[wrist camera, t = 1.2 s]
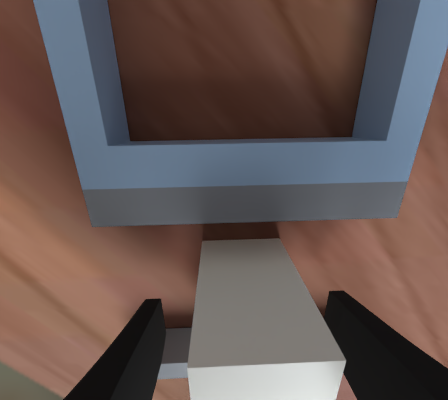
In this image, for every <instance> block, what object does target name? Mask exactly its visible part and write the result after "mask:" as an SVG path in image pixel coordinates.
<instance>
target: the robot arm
mask: <svg viewBox="0 0 448 400" xmlns="http://www.w3.org/2000/svg"><path fill="white" fill-rule="evenodd" d="M324 321H325V322H326V324H327V326H328V328H329V330H330V331H331V333H332V335H333V337H334V339H335V341H336V342H337V344H338V346H339V348H340V350H341V352H342V353H343V355H344V357H345V359H346V364H345V368H344V371H343V373H344V375H345V377H346V379H347V381H348V383H349V385H350V387H351V388H352V390H353V392H354V394H355V396H356V398H357V400H448V368H446V367H445V366H443V365H442V364H440V363H439V362H438V361H436V360H435V359H433V358H432V357H430V356H429V355H428V354H426V353H425V352H423V351H422V350H421V349H419V348H418V347H416V346H415V345H414V344H412V343H411V342H410V341H408V340H407V339H406V338H404V337H403V336H402V335H400V334H399V333H398V332H396V331H395V330H394V329H392V328H391V327H390V326H388V325H387V324H386V323H385V322H383V321H382V320H381V319H379V318H378V317H377V316H376V315H374V314H373V313H372V312H370V311H369V310H368V309H367V308H365V307H364V306H363V305H361V304H360V303H359V302H358V301H356V300H355V299H354V298H352V297H351V296H350V295H349V294H347V293H346V292H344V291H329V296H328V301H327V306H326V311H325V316H324ZM165 338H166V329H165V323H164V316H163V309H162V303H161V299H146V300H145V301H144V302H143V303H142V305H141V306H140V307H139V309H138V310H137V311H136V313H135V314H134V316H133V317H132V318H131V320H130V321H129V322H128V323H127V325H126V326H125V327H124V329H123V330H122V331H121V333H120V334H119V335H118V336H117V338H116V339H115V340H114V341H113V343H112V344H111V345H110V346H109V348H108V349H107V350H106V351H105V353H104V354H103V355H102V356H101V357H100V358H99V360H98V361H97V362H96V363H95V364H94V365H93V367H92V368H91V369H90V370H89V371H88V372H87V374H86V375H85V376H84V377H83V378H82V379H81V381H80V382H79V383H78V384H77V385H76V386H75V387H74V388H73V389H72V390H71V392H70V393H69V394H68V395H67V396H66V397H65V398H64V399H63V400H152V397H153V393H154V389H155V386H156V382H157V378H158V374H159V370H160V366H161V362H162V357H163V351H164V345H165Z"/></svg>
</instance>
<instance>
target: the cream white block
mask: <svg viewBox="0 0 448 400" xmlns="http://www.w3.org/2000/svg"><path fill="white" fill-rule="evenodd" d="M345 364H346V359H345V357H344V355H343V353H342V352H341V350H340V348H339V346H338V344H337V342H336V341H335V339H334V337H333V335H332V333H331V331H330V330H329V328H328V326H327V324H326V322H325V321H324V319H323V317H322V315H321V313H320V311H319V310H318V308H317V306H316V304H315V302H314V300H313V299H312V297H311V295H310V293H309V291H308V289H307V288H306V286H305V284H304V282H303V280H302V279H301V277H300V275H299V273H298V271H297V269H296V268H295V266H294V264H293V262H292V260H291V258H290V257H289V255H288V253H287V251H286V249H285V247H284V246H283V244H282V242H281V240H280V238H274V239H243V240H212V241H202V248H201V256H200V264H199V273H198V281H197V289H196V298H195V306H194V315H193V323H192V331H191V340H190V348H189V357H188V365H187V371H188V380H189V389H190V398H191V400H336V397H337V393H338V390H339V386H340V382H341V379H342V375H343V371H344V368H345Z"/></svg>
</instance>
